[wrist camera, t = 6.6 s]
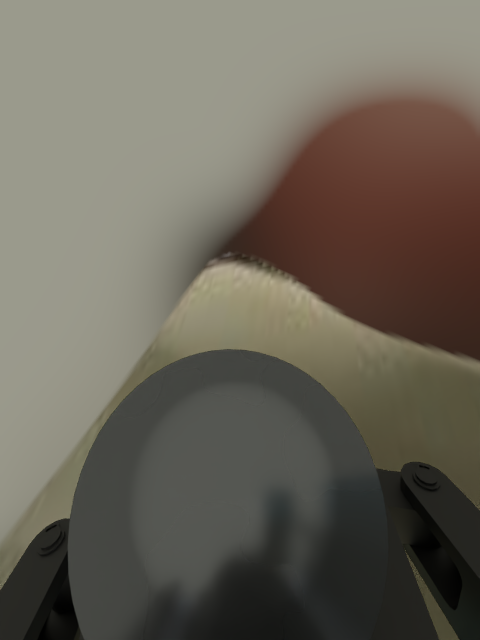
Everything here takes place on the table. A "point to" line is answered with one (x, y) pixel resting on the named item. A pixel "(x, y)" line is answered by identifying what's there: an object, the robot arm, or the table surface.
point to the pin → (228, 510)
